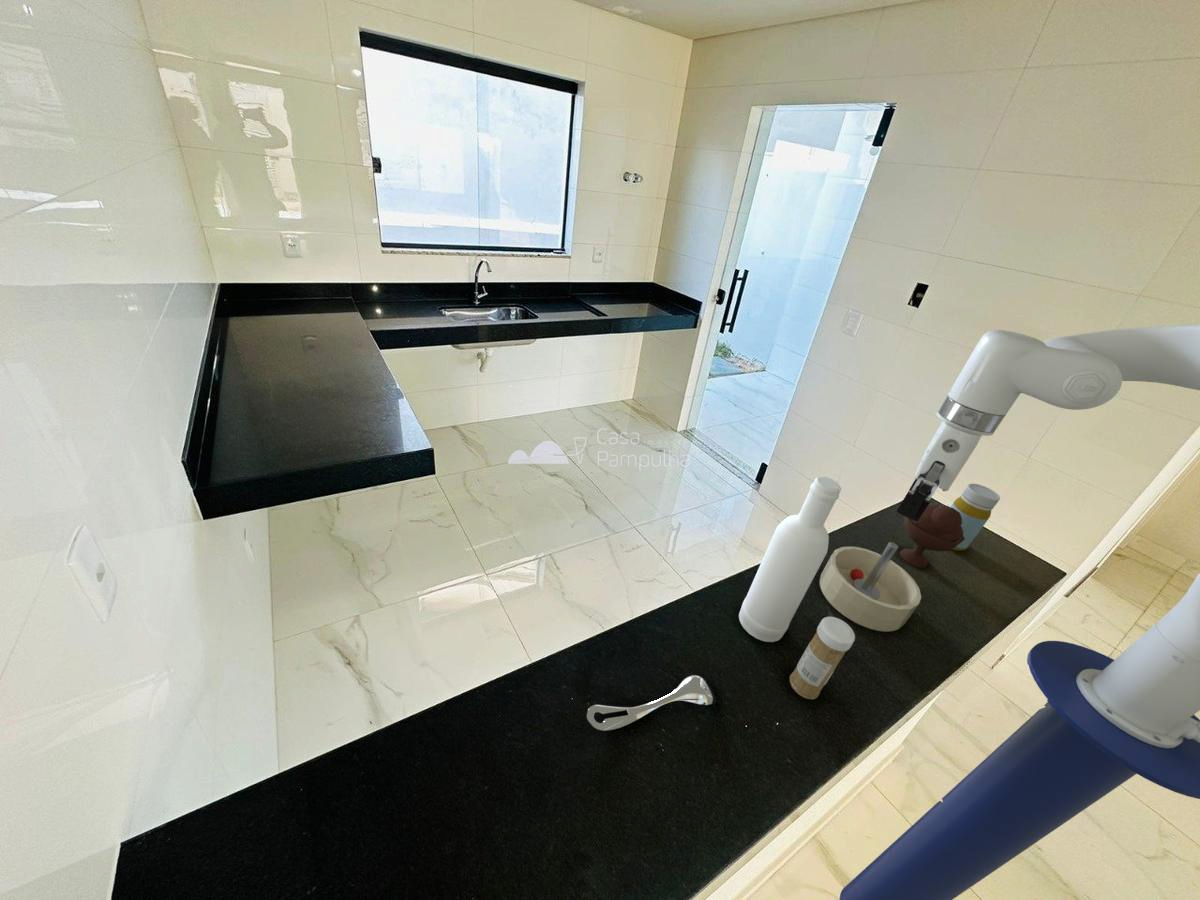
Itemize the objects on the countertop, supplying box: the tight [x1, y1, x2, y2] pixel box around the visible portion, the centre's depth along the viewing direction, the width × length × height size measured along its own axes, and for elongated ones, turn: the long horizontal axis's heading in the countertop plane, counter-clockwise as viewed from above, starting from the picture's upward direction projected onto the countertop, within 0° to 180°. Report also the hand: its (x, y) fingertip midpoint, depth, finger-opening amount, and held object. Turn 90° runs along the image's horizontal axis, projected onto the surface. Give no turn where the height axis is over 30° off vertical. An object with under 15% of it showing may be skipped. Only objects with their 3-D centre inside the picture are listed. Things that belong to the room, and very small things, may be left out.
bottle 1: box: [738, 476, 842, 643], centre depth 73 cm, size 8×8×30 cm
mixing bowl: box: [819, 546, 922, 632], centre depth 88 cm, size 16×16×6 cm
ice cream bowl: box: [899, 503, 965, 568], centre depth 99 cm, size 11×11×15 cm
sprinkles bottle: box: [789, 616, 856, 700], centre depth 67 cm, size 5×5×14 cm
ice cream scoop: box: [585, 673, 717, 732], centre depth 64 cm, size 20×4×5 cm
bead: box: [850, 569, 864, 580], centre depth 92 cm, size 2×2×2 cm
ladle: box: [852, 541, 899, 600], centre depth 86 cm, size 5×5×13 cm
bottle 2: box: [950, 483, 1001, 552], centre depth 106 cm, size 7×7×15 cm
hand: (912, 505), depth 78 cm, fingers open, 9 cm apart
